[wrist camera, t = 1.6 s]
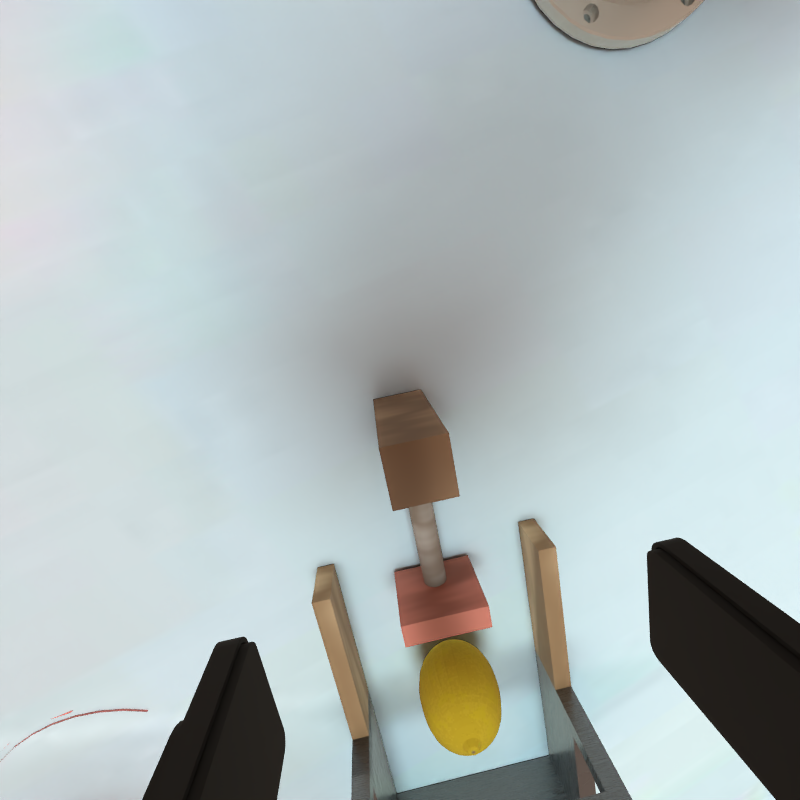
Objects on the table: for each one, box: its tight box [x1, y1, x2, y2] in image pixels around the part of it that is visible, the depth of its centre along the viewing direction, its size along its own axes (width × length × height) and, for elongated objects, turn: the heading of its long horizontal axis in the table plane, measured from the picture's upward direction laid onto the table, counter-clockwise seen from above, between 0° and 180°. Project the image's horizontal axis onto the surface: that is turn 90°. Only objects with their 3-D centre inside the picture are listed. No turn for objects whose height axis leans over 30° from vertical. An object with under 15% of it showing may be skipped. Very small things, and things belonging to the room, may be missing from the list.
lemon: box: [419, 639, 501, 756], centre depth 29 cm, size 6×6×8 cm
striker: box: [373, 390, 492, 647], centre depth 24 cm, size 6×15×9 cm, turn 11°
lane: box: [312, 519, 571, 740], centre depth 30 cm, size 16×12×4 cm
